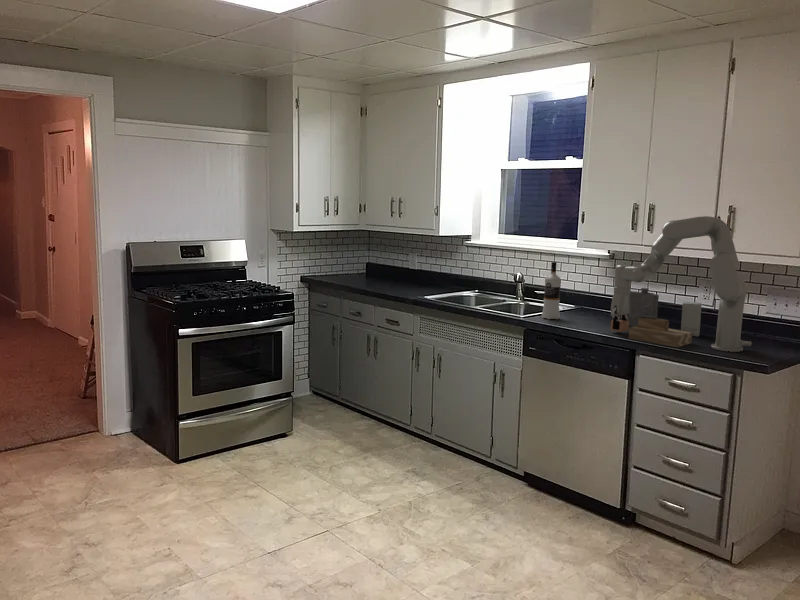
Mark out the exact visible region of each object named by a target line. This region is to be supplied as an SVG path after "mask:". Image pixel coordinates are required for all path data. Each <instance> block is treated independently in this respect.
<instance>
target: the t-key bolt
mask: <svg viewBox="0 0 800 600" xmlns="http://www.w3.org/2000/svg"><path fill="white" fill-rule="evenodd" d="M650 310H651V306H641V307H640V311H643V313H639V312H635V313H634V314H633V315H634V316H641V317H647V318H653V319H654V318H658V314H657V315H652V314H648V311H650Z"/></svg>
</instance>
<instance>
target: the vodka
mask: <svg viewBox="0 0 800 600" xmlns="http://www.w3.org/2000/svg"><path fill="white" fill-rule="evenodd" d="M557 263H558V262H557V261H551V266H550V274H549V275H548V276H546V277H545V278H544V293H543V294H544V295H543V307H542V312H541V317H542V318H543V319H544V318H547V319H546V320H550V319H556V320H559V319H560V318H561V317H560V316H561V315H560V301H561V300H560V298H561V286H562V285H561V283H562V279H561V277H560V276H558V275H557Z"/></svg>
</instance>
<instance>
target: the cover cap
mask: <svg viewBox="0 0 800 600" xmlns="http://www.w3.org/2000/svg"><path fill="white" fill-rule="evenodd" d="M619 321H620V324H619V330H616V329H613V320H610V329H609V330H610V331H615V332H620V333H623V332H627V331H628V332H629V328H630V326H629V321H624V320H620V319H619Z"/></svg>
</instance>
